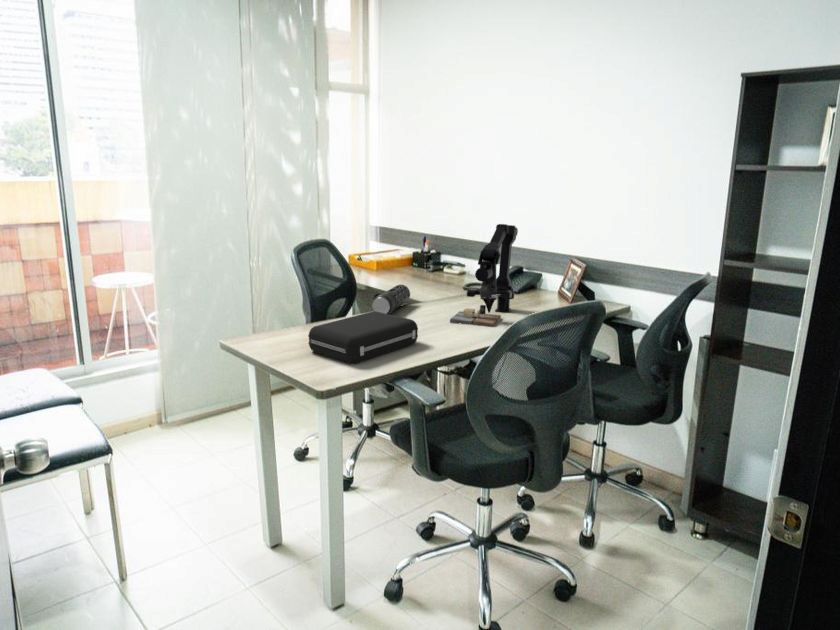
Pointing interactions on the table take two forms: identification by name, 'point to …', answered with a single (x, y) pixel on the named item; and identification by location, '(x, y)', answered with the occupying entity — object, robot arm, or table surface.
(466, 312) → the brass keeper
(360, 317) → the briefcase
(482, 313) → the steel bolt
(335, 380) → the table surface
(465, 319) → the board
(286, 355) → the table surface
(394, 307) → the dark grey textured cylinder
